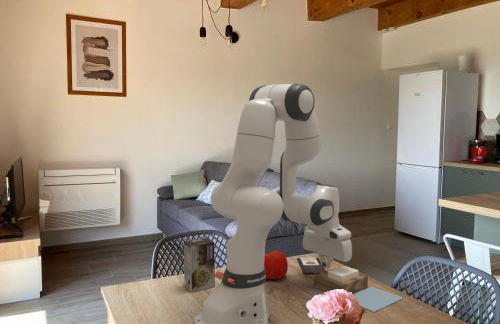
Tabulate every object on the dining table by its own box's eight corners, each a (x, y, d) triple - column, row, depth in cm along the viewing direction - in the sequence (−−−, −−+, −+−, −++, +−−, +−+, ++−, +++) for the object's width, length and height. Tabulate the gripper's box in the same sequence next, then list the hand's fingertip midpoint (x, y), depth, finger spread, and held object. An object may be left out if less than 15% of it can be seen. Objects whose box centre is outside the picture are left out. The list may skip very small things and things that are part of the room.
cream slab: (341, 282, 139) (342, 276, 139) (327, 277, 144) (328, 271, 144) (358, 276, 145) (358, 270, 145) (344, 271, 150) (344, 265, 150)
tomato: (273, 269, 163) (273, 246, 162) (294, 278, 154) (294, 254, 153) (251, 275, 157) (251, 251, 156) (271, 285, 147) (271, 260, 146)
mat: (374, 312, 126) (374, 311, 126) (342, 299, 135) (342, 298, 135) (403, 298, 136) (403, 297, 136) (371, 287, 145) (371, 286, 145)
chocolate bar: (303, 273, 158) (296, 257, 176) (303, 275, 158) (296, 260, 176) (327, 272, 158) (318, 257, 176) (327, 275, 158) (318, 259, 176)
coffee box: (207, 281, 151) (206, 237, 150) (215, 287, 146) (215, 241, 144) (183, 286, 146) (182, 241, 145) (191, 292, 141) (190, 245, 139)
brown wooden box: (341, 297, 137) (341, 285, 136) (314, 286, 146) (314, 275, 146) (367, 287, 146) (367, 276, 145) (339, 277, 155) (340, 266, 154)
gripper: (299, 225, 156) (298, 261, 157) (343, 236, 140) (342, 277, 141) (310, 222, 159) (310, 258, 161) (355, 233, 144) (354, 272, 145)
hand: (325, 267), depth 151 cm, fingers closed
